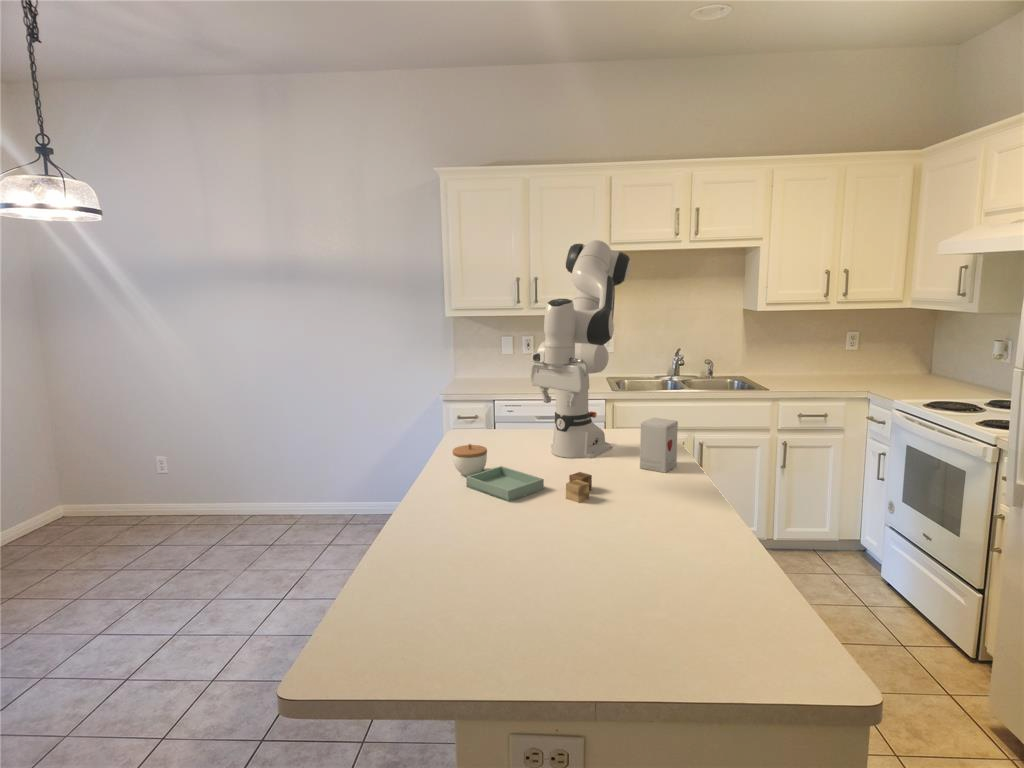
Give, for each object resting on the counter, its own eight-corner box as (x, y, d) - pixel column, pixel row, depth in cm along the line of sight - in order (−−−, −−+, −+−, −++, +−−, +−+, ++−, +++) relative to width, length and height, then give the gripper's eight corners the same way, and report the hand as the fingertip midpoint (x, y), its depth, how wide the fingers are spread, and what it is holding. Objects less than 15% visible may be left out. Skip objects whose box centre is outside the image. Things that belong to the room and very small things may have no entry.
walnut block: (579, 486, 190) (579, 471, 189) (591, 490, 186) (591, 475, 186) (569, 490, 187) (569, 475, 186) (581, 494, 183) (581, 478, 183)
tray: (501, 475, 200) (501, 466, 200) (543, 489, 188) (543, 479, 187) (466, 486, 191) (466, 476, 190) (508, 501, 178) (508, 491, 178)
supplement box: (665, 473, 200) (666, 426, 197) (638, 468, 205) (639, 422, 202) (677, 466, 207) (678, 420, 204) (651, 461, 212) (652, 416, 209)
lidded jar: (489, 468, 208) (488, 440, 207) (485, 479, 198) (484, 449, 196) (456, 467, 209) (455, 439, 208) (450, 478, 199) (449, 448, 197)
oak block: (576, 494, 183) (576, 479, 182) (588, 498, 180) (589, 483, 179) (565, 499, 180) (565, 483, 179) (578, 503, 177) (578, 487, 176)
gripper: (594, 358, 179) (593, 408, 181) (542, 353, 194) (541, 398, 196) (579, 360, 174) (578, 411, 176) (526, 354, 189) (526, 401, 191)
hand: (558, 404), depth 186 cm, fingers open, 8 cm apart
